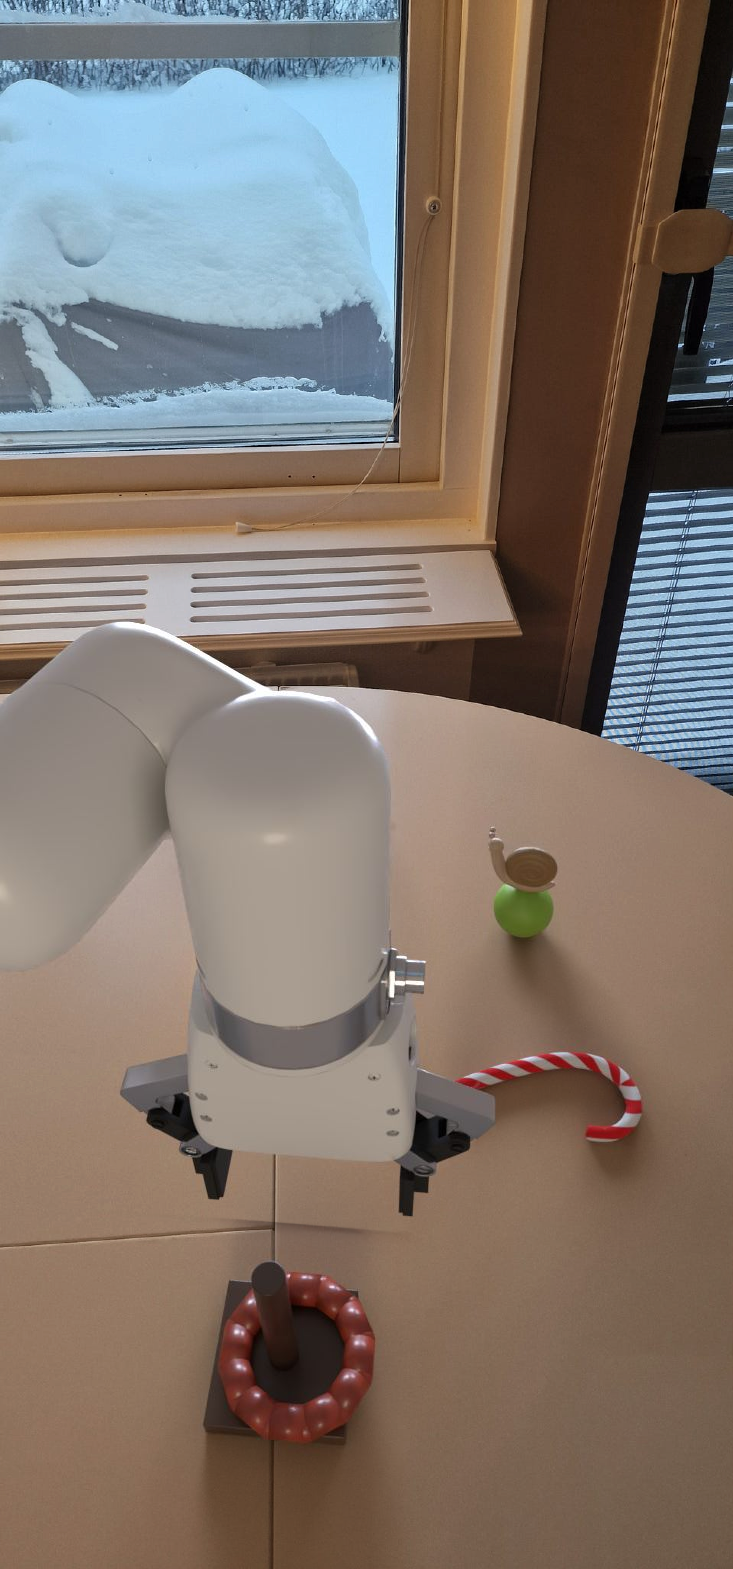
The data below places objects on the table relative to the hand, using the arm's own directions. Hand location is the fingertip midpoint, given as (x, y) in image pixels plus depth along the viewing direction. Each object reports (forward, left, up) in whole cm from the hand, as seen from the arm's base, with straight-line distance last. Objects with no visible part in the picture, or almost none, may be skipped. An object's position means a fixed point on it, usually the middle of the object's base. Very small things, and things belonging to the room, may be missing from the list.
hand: (314, 1180), depth 53 cm
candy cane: (+15, +20, -24) cm, 35 cm away
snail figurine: (+13, +38, -24) cm, 47 cm away
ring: (-2, -1, -22) cm, 22 cm away
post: (-3, -1, -24) cm, 24 cm away
